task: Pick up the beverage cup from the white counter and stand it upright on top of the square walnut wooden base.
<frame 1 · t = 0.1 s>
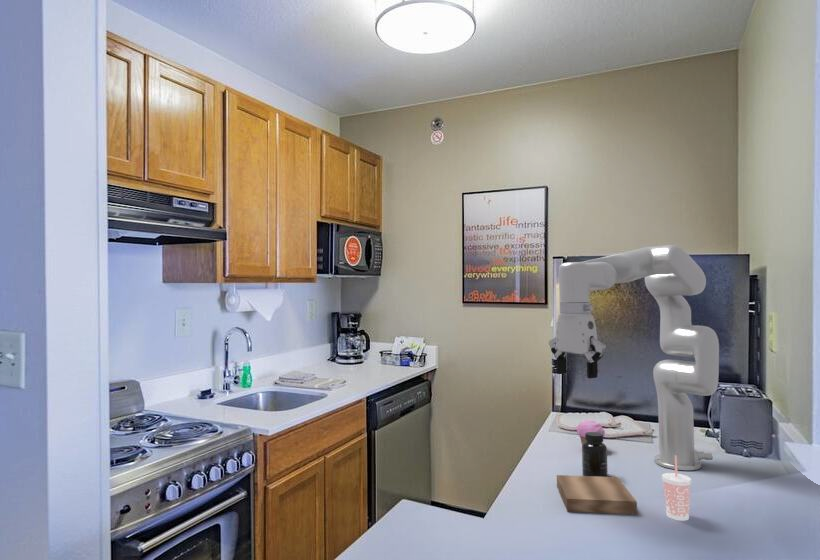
hand: (576, 375, 128), 31 cm above the counter, tool pointing down, fingers open, 9 cm apart
beverage cup: (677, 517, 115), on the counter
supplement bottle: (595, 476, 142), on the counter
walnut base: (594, 499, 126), on the counter
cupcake: (591, 451, 165), on the counter
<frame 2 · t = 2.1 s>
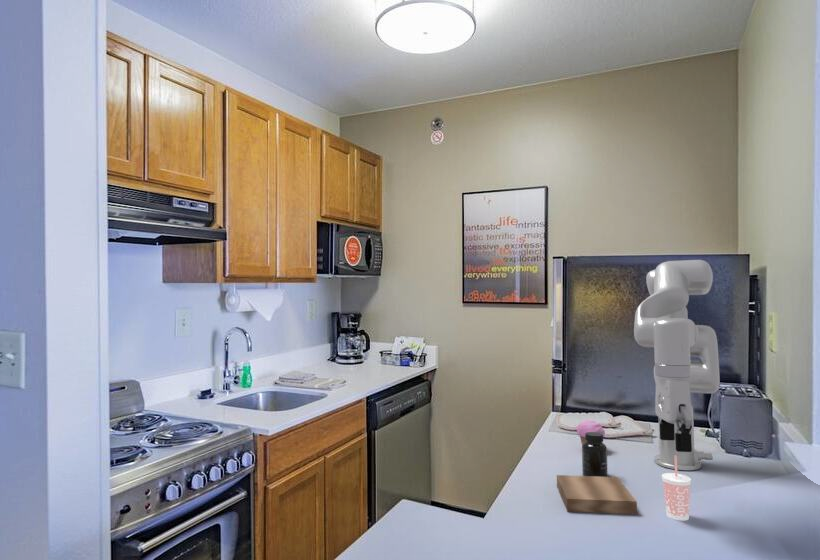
hand: (675, 445, 115), 16 cm above the counter, tool pointing down, fingers open, 9 cm apart
nothing on the counter moved.
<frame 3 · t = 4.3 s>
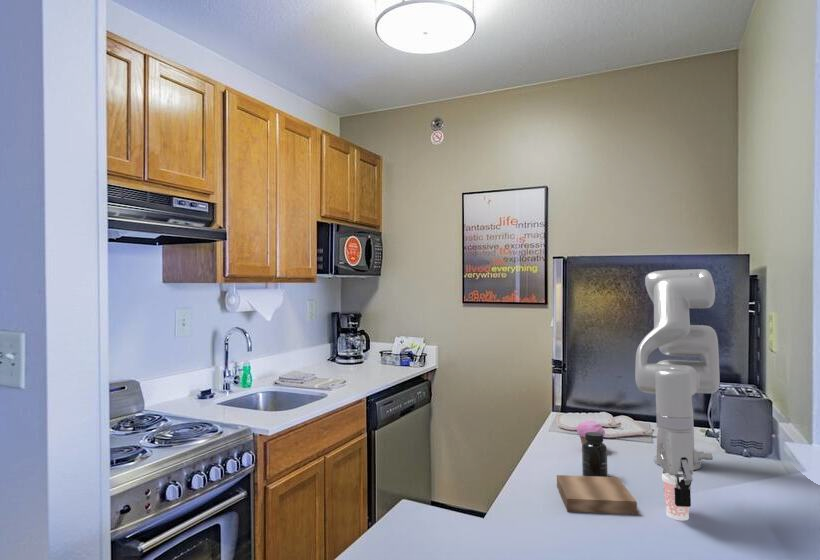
hand: (677, 499, 115), 4 cm above the counter, tool pointing down, fingers closed on beverage cup, 6 cm apart
beverage cup: (677, 517, 115), on the counter, touching gripper
everything else where it was.
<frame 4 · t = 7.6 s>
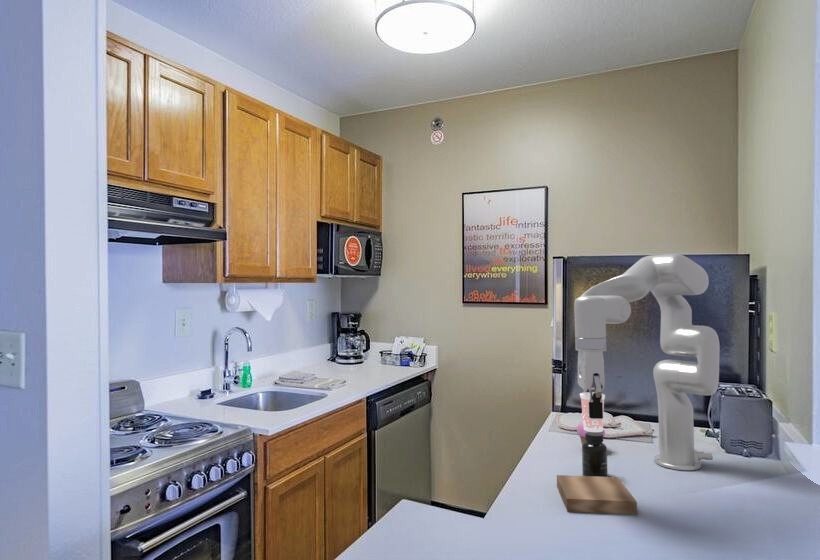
hand: (592, 414, 126), 21 cm above the counter, tool pointing down, fingers closed on beverage cup, 6 cm apart
beverage cup: (593, 430, 126), point 17 cm above the counter, touching gripper
everything else where it was.
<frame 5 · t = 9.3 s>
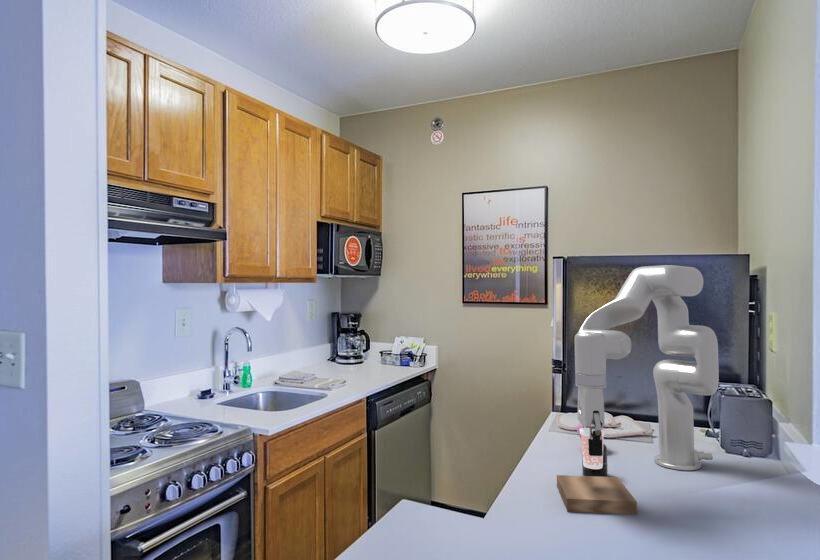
hand: (592, 450, 126), 12 cm above the counter, tool pointing down, fingers closed on beverage cup, 6 cm apart
beverage cup: (592, 466, 126), point 8 cm above the counter, touching gripper
everything else where it was.
when the fingers open (8 cm above the counter, at t = 11.0 s): beverage cup drops 1 cm, resting on walnut base.
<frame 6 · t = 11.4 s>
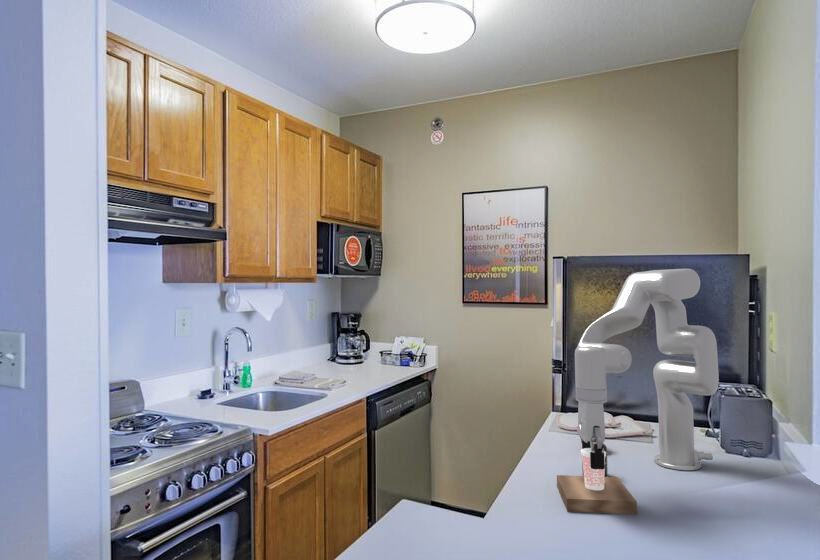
hand: (593, 462, 126), 9 cm above the counter, tool pointing down, fingers open, 9 cm apart
beverage cup: (594, 487, 126), point 3 cm above the counter, touching walnut base
everything else where it was.
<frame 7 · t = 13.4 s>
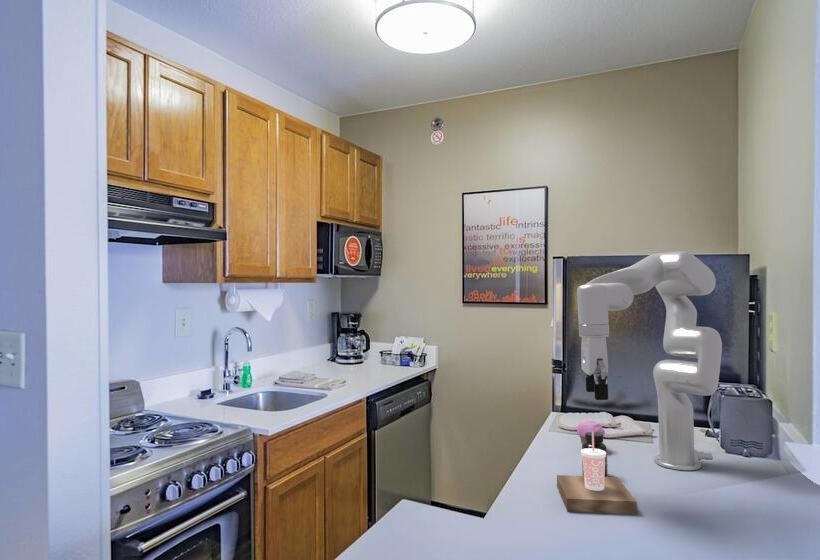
hand: (596, 395, 130), 25 cm above the counter, tool pointing down, fingers open, 9 cm apart
nothing on the counter moved.
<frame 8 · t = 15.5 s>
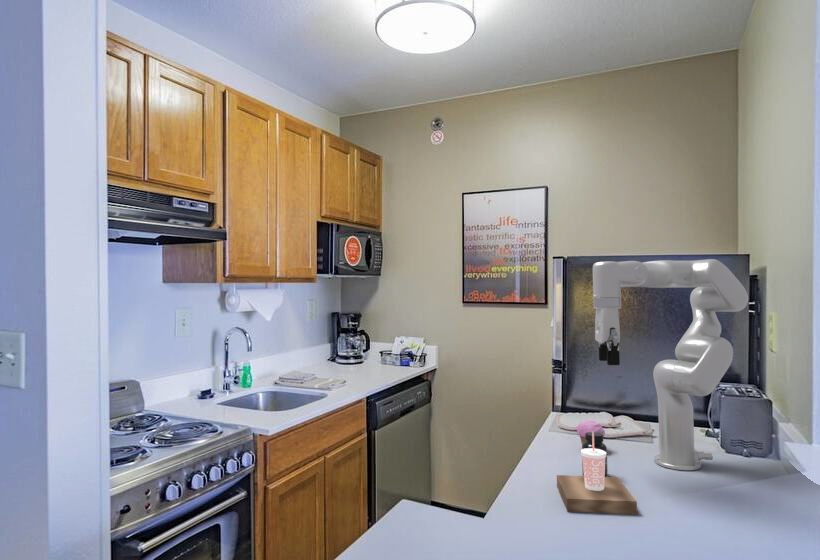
hand: (609, 362, 143), 32 cm above the counter, tool pointing down, fingers open, 9 cm apart
nothing on the counter moved.
at the end: beverage cup inside the target area on the walnut base (0.2 cm from its centre), point 2.8 cm above the walnut base's base; beverage cup tilted 0°; the gripper is holding nothing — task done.
